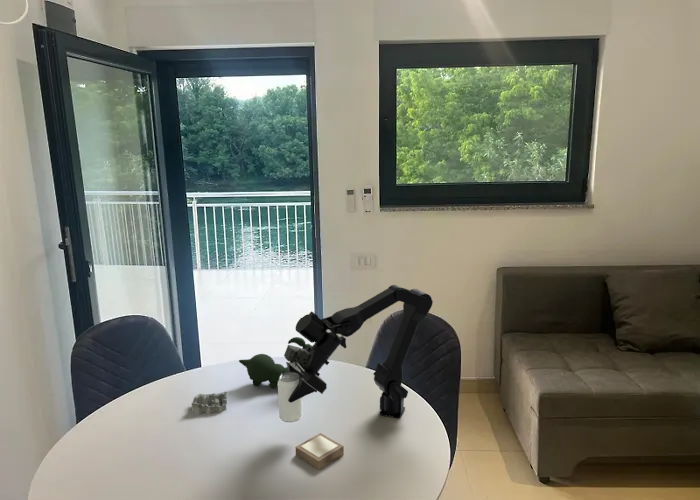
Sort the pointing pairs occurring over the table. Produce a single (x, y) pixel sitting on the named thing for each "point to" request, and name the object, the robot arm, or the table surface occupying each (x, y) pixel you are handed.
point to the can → (285, 389)
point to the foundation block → (319, 451)
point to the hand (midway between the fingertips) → (285, 396)
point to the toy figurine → (268, 366)
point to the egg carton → (202, 401)
